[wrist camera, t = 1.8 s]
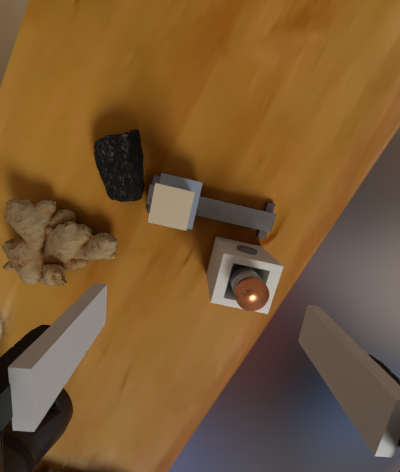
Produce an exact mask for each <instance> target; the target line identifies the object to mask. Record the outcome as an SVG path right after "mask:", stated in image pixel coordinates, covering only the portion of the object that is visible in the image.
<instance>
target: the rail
mask: <svg viewBox="0 0 400 472" xmlns="http://www.w3.org/2000/svg"><path fill="white" fill-rule="evenodd" d="M160 177H161V176H156V175H154V176H153V181H152V184H150V186H149V192H148V197H147V203H146V204H148V209H147V212H148V213H150V208H151V203H152V198H153V192H154V187H155V183H158V184H159V183H160ZM274 206H275V204H273V203H269V202H266V206H265V209H264V211H263V210H258V209H254V208H250V207H246V206H242V205H237V204H233V203H229V202H225V201H220V200H216V199H212V198H208V197H204V196H200V197H199V202H198V206H197V210H196V215H197V216H201V217H205V218H210V219H214V220H218V221H223V222H227V223H231V224H236V225H240V226H245V227H249V228H253V229H258V233H257V237H258V238H263V239H265V236H266V233H267V232H271V230H272V226H273V223H274V220H275V217H276V214H274V213H273V209H274Z"/></svg>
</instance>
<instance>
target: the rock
mask: <svg viewBox="0 0 400 472" xmlns="http://www.w3.org/2000/svg"><path fill="white" fill-rule="evenodd" d="M140 141H141V139H140V133H139V130H138V129H133V130H131V131H129V132H126V133H124V134H118V135H117V134H115V135H107V136H105V137H104V138H100V139H99V140H97V141H96V142H95V145H94V148H95V152H94V154H95V160H96V164H97V168H98V170H99V173H100V175H101V179H102V181H103V183H104V185H105V188H106V192H107V194H108V196H109V198H110V199H112V200H117V201H121V202H123V201H124V202H126V201H136V200H140V199H141V198H142V194H143V191H144V186H145V185H144V181H143V174H144V172H143V152H142V149H141V145H140Z"/></svg>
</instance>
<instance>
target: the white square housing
mask: <svg viewBox="0 0 400 472" xmlns="http://www.w3.org/2000/svg"><path fill="white" fill-rule="evenodd" d="M235 264H240V265H244V266H249V267H253V268H254V270H255V271H256V272H257V274H258V275H259V276H260V278H261V279H262V280H263V282H264V283H265V284H266V286H267V287H268V289H269V300H268V302H267V303H266V305H265V306H264V307H262V308H261V309H259V310H256V311H255V312H260V313H265V314H268V312H269V309H270V306H271V303H272V300H273V297H274V294H275V291H276V288H277V285H278V282H279V279H280V276H281V273H282V270H283V267H284V266H283V265H282V264H280V263H279V262H278V261H277V260H276V259H275V258H274V257H272V256H271V255H270V254H269V253H268V252H267V251H266V250H264V249H263V248H262V247H261V246H258V245H253V244H249V243H244V242H240V241H236V240H231V239H227V238H222V237H218V236H216V238H215V242H214V246H213V250H212V254H211V258H210V262H209V266H208V269H207V273H206V274H207V281H208V288H209V295H210V301H211V303H215V304H220V305H225V306H230V307H235V308H240V309H242V308H241V307H240V306H239V305H238V303H237V301H236V298H235V296H234V293H233V290H232V288H231V285H230V282H229V276H230V273H231V269H232V266H234V265H235Z"/></svg>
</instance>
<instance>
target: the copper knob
mask: <svg viewBox="0 0 400 472" xmlns="http://www.w3.org/2000/svg"><path fill="white" fill-rule="evenodd" d="M229 282H230V285H231V288H232V290H233V293H234V296H235V298H236V301H237V303H238V305H239V306H240V307H241V308H242V309H244V310H247V311H256V310H259V309H261V308H262V307H264V306H265V305H266V303H267V302H268V300H269V289H268V287H267V286H266V284H265V283H264V282H263V280H262V279H261V278H260V276H259V275H258V274H257V272H256V271H255V270H254V268H253V267H249V266H244V265H240V264H235V265H234V266H232V269H231V273H230V276H229Z"/></svg>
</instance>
